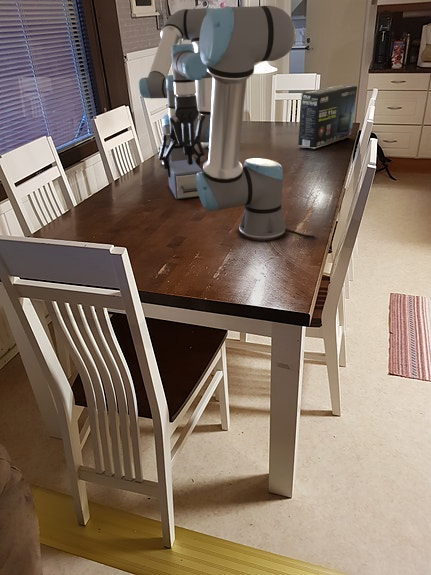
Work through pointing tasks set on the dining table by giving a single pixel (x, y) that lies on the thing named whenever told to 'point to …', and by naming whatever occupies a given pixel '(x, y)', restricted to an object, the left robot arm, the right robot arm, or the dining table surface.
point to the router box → (326, 115)
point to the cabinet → (181, 173)
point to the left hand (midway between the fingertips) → (183, 174)
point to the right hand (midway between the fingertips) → (190, 163)
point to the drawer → (186, 185)
